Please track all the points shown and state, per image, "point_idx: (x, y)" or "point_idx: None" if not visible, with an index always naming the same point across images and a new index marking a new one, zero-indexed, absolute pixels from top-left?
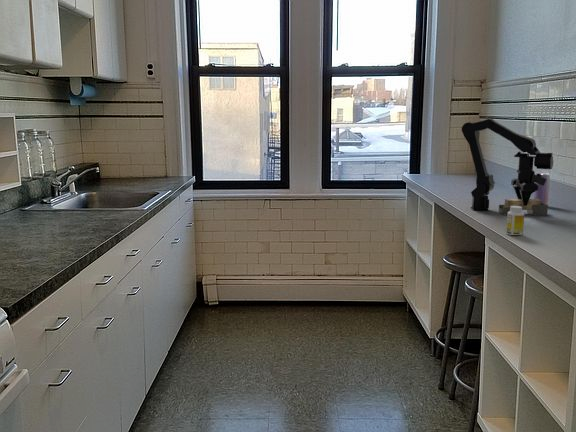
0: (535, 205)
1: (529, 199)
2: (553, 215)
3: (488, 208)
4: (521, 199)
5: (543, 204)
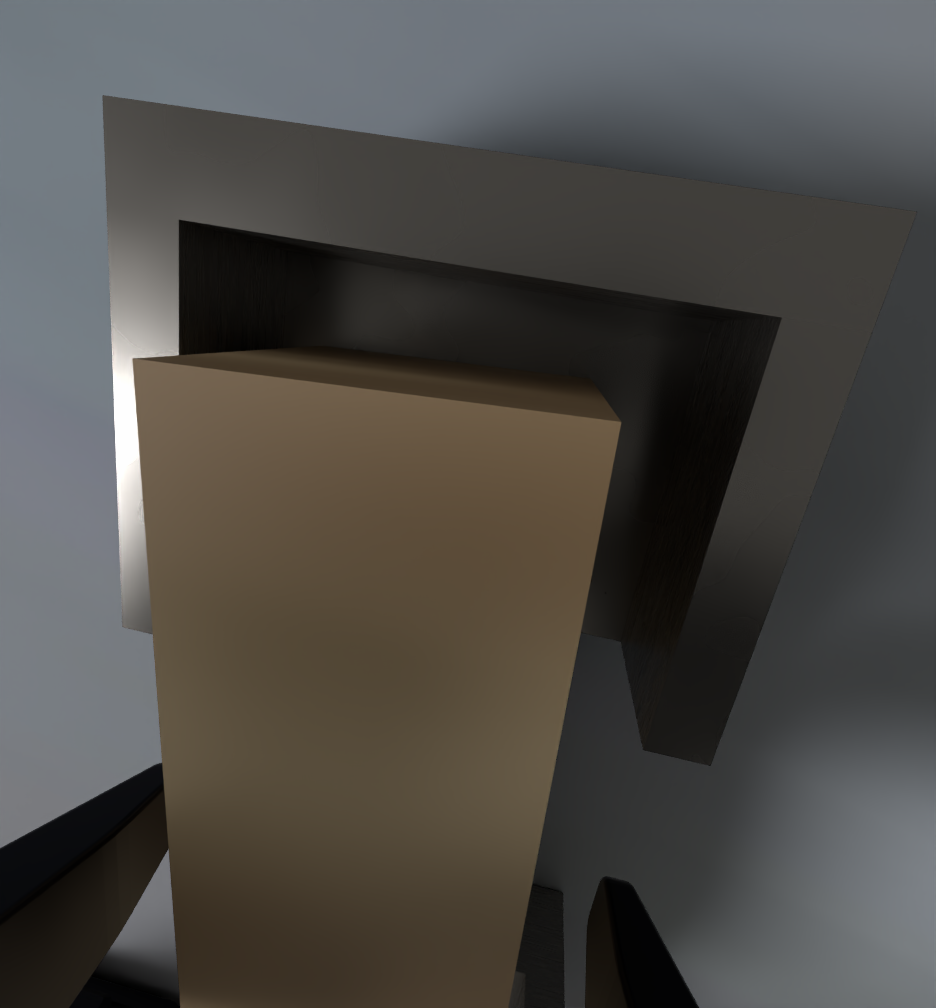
0: (732, 688)
1: (241, 761)
2: (754, 52)
3: (109, 999)
4: (251, 988)
5: (593, 287)
